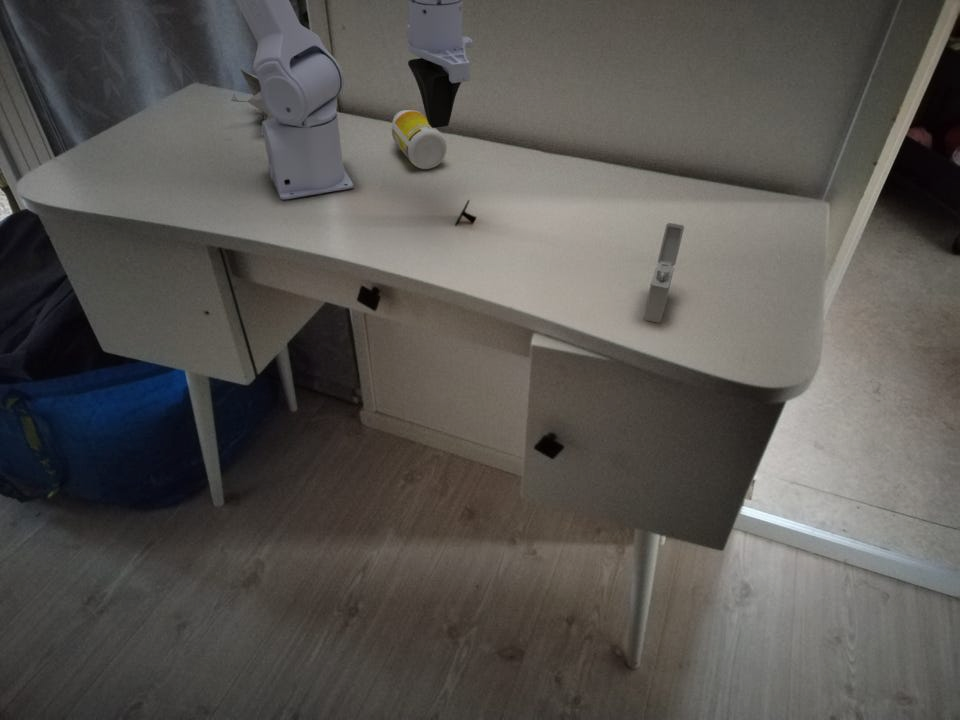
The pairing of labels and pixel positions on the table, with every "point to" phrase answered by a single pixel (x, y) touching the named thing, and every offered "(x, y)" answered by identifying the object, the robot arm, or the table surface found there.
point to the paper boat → (255, 95)
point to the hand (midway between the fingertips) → (438, 125)
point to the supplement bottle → (418, 139)
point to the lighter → (663, 272)
